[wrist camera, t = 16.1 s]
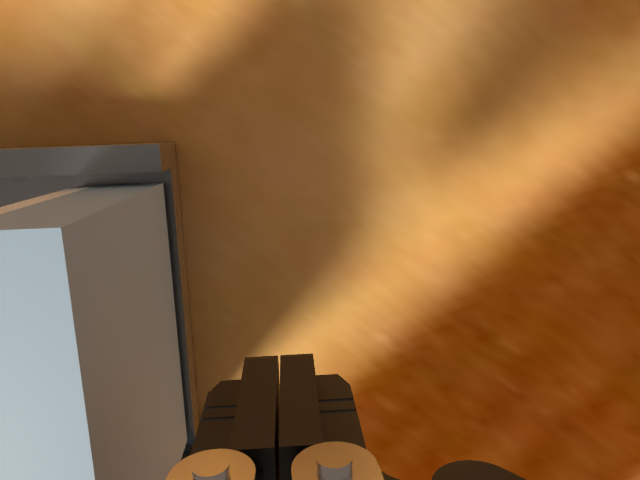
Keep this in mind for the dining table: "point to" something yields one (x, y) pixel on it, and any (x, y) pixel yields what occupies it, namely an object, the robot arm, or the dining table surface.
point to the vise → (114, 169)
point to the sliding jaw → (89, 337)
